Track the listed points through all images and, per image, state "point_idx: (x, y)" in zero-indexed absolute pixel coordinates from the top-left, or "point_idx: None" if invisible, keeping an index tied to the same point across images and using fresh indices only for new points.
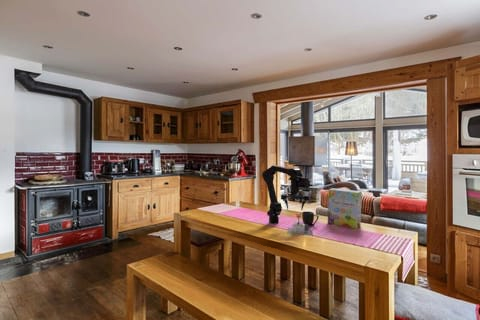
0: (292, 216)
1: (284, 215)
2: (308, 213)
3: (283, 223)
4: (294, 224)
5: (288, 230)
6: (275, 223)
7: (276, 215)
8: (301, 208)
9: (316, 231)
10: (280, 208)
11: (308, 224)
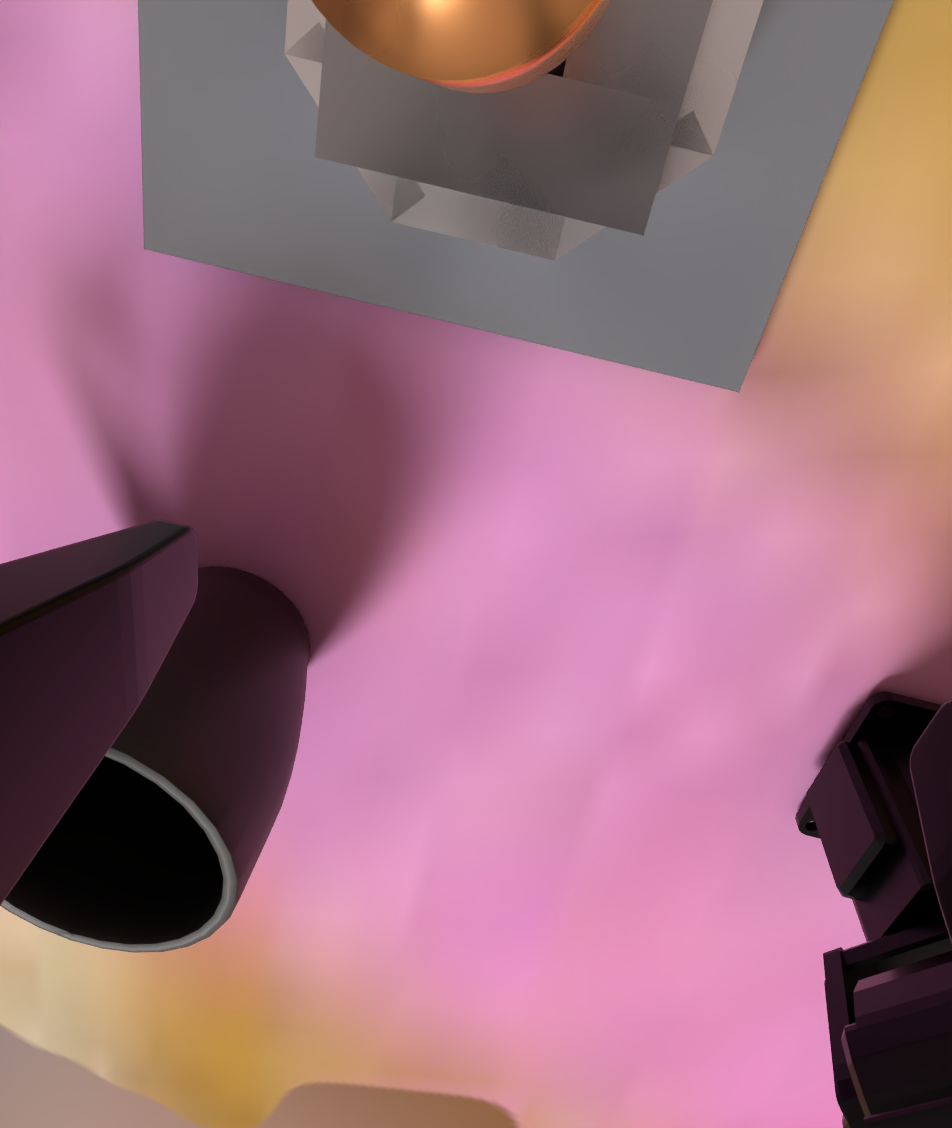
0: (429, 1069)
1: (543, 1114)
2: (102, 889)
3: (694, 779)
4: None
5: (815, 121)
6: (914, 735)
7: (940, 918)
8: (131, 561)
9: (62, 212)
10: (927, 1105)
11: (204, 583)
